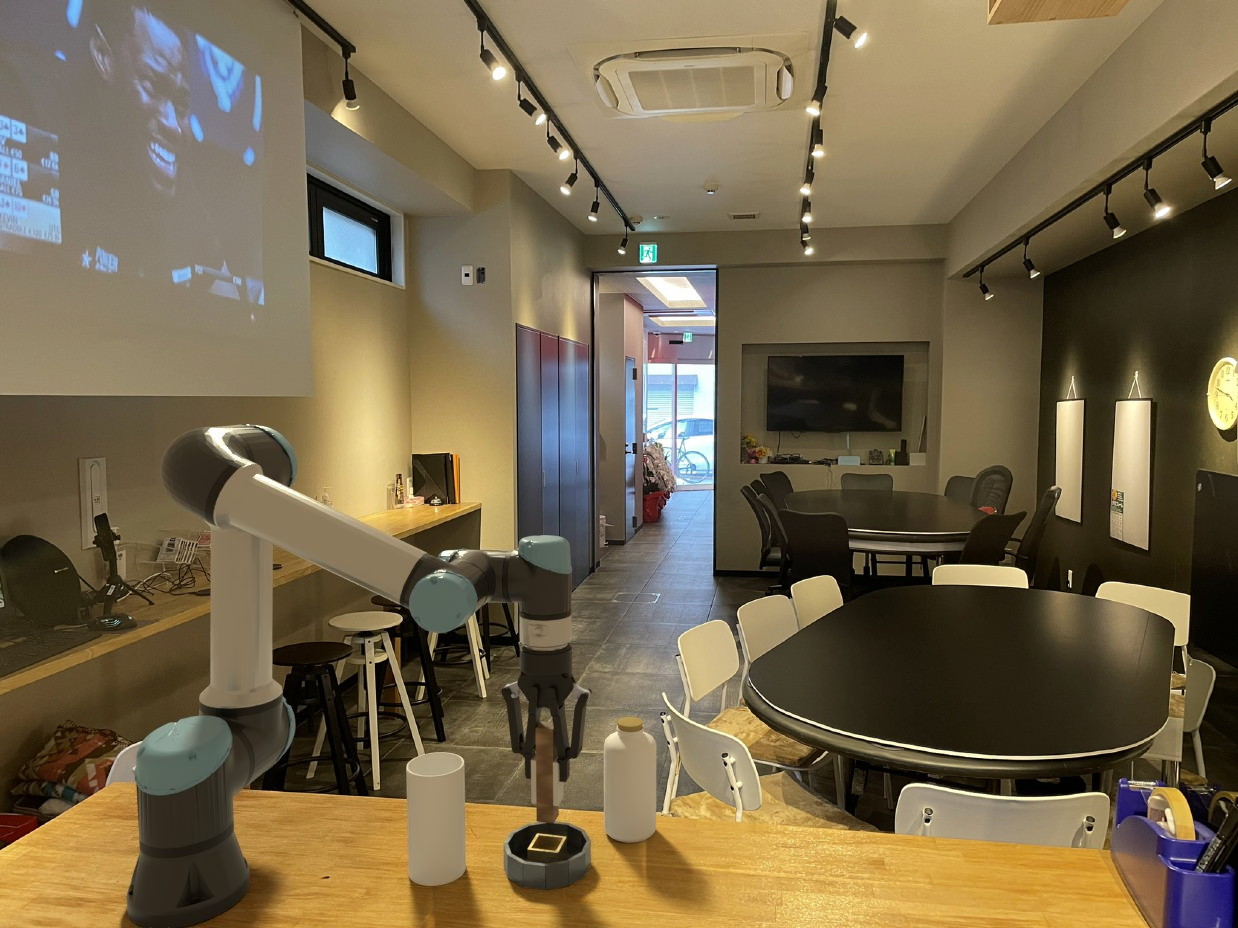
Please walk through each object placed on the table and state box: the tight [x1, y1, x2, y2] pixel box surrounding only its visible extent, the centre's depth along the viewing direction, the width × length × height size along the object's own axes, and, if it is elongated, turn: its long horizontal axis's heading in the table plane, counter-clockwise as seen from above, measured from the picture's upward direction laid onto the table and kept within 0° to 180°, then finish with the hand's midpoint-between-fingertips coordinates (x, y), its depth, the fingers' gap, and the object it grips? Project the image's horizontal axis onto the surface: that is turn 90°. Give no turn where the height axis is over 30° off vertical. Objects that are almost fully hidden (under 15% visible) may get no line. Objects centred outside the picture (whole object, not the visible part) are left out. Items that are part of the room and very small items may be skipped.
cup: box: [405, 751, 467, 887], centre depth 123 cm, size 8×8×16 cm
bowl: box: [503, 820, 592, 891], centre depth 125 cm, size 12×12×4 cm
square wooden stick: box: [535, 720, 560, 823], centre depth 124 cm, size 3×3×14 cm
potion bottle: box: [603, 716, 657, 844], centre depth 134 cm, size 8×8×18 cm
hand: (547, 800), depth 124 cm, fingers closed on square wooden stick, 3 cm apart
